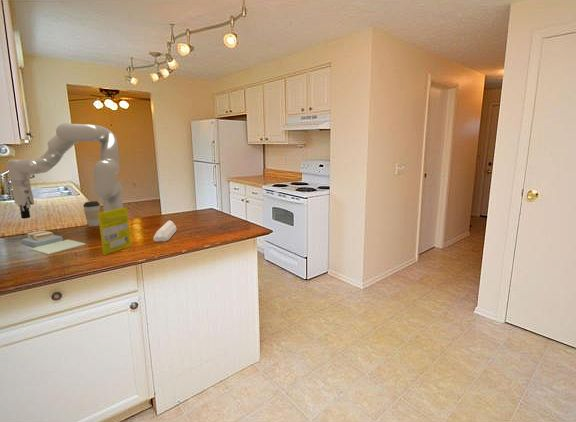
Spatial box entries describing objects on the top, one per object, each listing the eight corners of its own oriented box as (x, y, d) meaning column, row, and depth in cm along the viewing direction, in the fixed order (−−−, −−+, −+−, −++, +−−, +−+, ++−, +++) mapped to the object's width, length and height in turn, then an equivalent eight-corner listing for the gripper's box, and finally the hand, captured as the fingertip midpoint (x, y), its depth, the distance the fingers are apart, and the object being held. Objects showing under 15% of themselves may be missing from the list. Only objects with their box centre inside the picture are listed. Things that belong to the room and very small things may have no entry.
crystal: (170, 235, 160) (180, 224, 183) (157, 229, 159) (169, 218, 182) (163, 247, 161) (174, 234, 184) (150, 241, 160) (163, 229, 183)
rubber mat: (86, 244, 157) (86, 243, 157) (48, 254, 142) (48, 253, 142) (68, 240, 164) (68, 239, 164) (30, 249, 149) (30, 248, 149)
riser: (63, 241, 162) (62, 236, 161) (36, 247, 151) (35, 243, 151) (48, 237, 168) (48, 233, 167) (22, 243, 158) (21, 239, 157)
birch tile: (54, 237, 160) (53, 232, 160) (38, 240, 154) (37, 236, 154) (43, 234, 165) (43, 230, 164) (28, 238, 159) (27, 233, 158)
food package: (130, 245, 155) (126, 206, 151) (131, 245, 155) (127, 207, 151) (102, 255, 141) (97, 213, 137) (104, 255, 141) (98, 213, 137)
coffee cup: (85, 227, 190) (82, 203, 187) (85, 224, 198) (82, 201, 195) (102, 225, 195) (99, 202, 192) (102, 222, 203) (99, 199, 199)
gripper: (36, 183, 159) (41, 218, 162) (22, 181, 165) (27, 215, 169) (19, 185, 152) (24, 221, 156) (4, 183, 159) (10, 217, 162)
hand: (25, 217), depth 162 cm, fingers closed
